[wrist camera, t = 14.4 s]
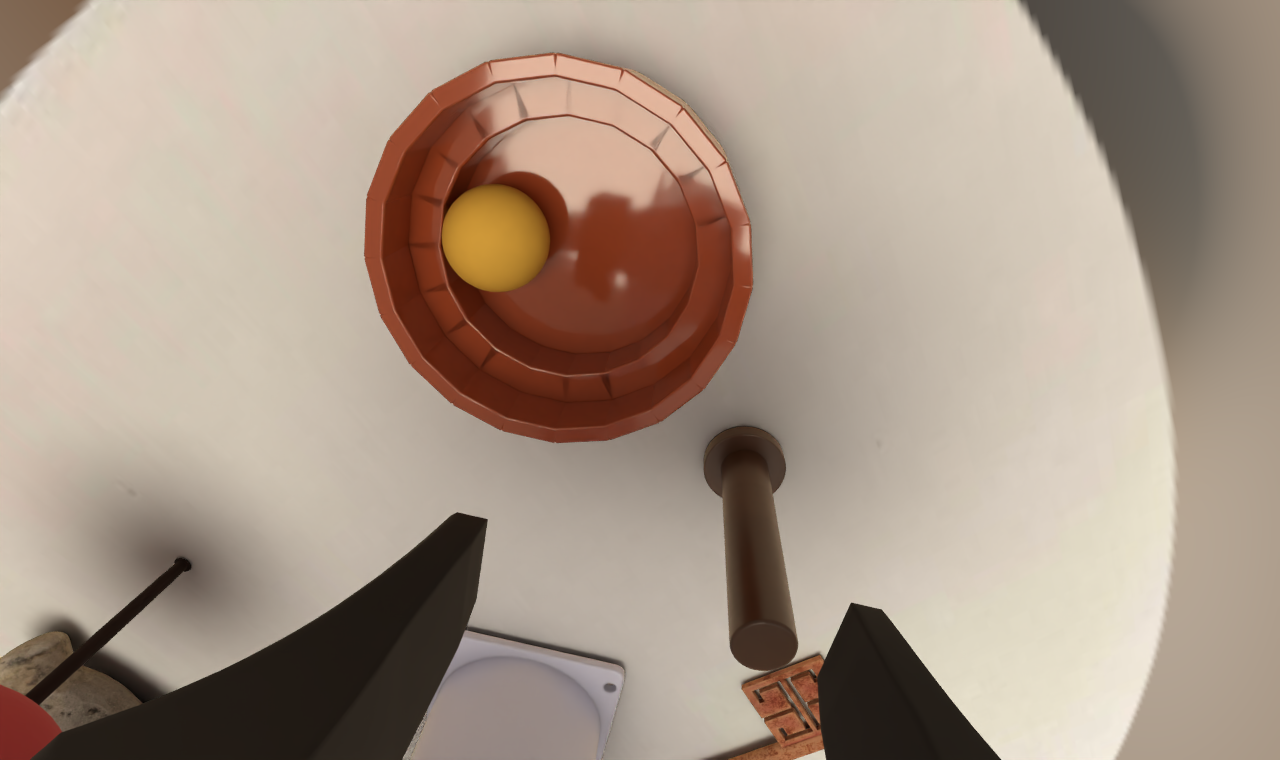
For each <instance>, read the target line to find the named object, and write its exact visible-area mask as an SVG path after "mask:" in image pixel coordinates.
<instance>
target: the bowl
mask: <svg viewBox="0 0 1280 760" xmlns="http://www.w3.org/2000/svg"><path fill="white" fill-rule="evenodd" d="M486 184H502V185H507V186H510V187H513V188H516V189H518V190H520V191H522V192H523V193H525V194H526V195H527V196H529V197H530V198H531V199H532V200H533V201H534V202H535V203H536V204H537V205H538V207H539V208H540V209H541V211H542V213H543V214H544V216H545V218H546V221H547V224H548V227H549V233H550V249H549V253H548V257H547V260H546V262H545V264H544V266H543V268H542V269H541V271H540V272H539V273H538V274H537V276H536V277H535V278H534V279H533V280H531V281H530V282H529V283H527V284H526V285H524V286H522V287H520V288H518V289H515V290H511V291H507V292H490V291H485V290H481V289H479V288H476V287H474V286H472V285H470V284H469V283H467V282H466V281H464V280H463V279H462V278H461V277H460V276H458V274H457V273H456V272H455V271H454V270H453V268H452V267H451V266H450V264H449V262H448V260H447V258H446V256H445V253H444V250H443V245H442V227H443V222H444V219H445V216H446V214H447V212H448V210H449V208H450V207H451V205H452V204H453V203H454V201H455V200H456V199H457V198H458V197H460V196H461V195H462V194H463V193H465V192H466V191H468V190H470V189H472V188H474V187H477V186H481V185H486ZM364 256H365V262H366V266H367V270H368V273H369V277H370V281H371V284H372V288H373V292H374V295H375V299H376V303H377V307H378V310H379V313H380V314H381V315H380V316H381V318H382V320H383V321H384V323H385V325H386V326H387V328H388V330H389V331H390V333H391V334H392V336H393V338H394V339H395V341H396V343H397V344H398V346H399V348H400V349H401V351H402V353H403V354H404V356H405V357H406V359H407V361H408V362H409V364H411V366H412V367H413V368H414V369H415V370H416V371H417V372H418V373H419V374H420V375H421V376H423V377H424V378H425V379H426V380H427V381H428V382H429V383H430V384H431V385H432V386H433V387H434V388H435V389H436V390H437V391H438V392H440V393H441V394H442V395H443V396H444V397H445V398H446V399H447V400H448V401H449V402H450V403H453V405H454V406H456V407H458V408H460V409H462V410H464V411H465V412H467V413H469V414H471V415H473V416H475V417H477V418H478V419H480V420H482V421H484V422H486V423H488V424H490V425H492V426H493V427H495V428H497V429H499V430H502V431H504V432H509V433H513V434H518V435H522V436H526V437H531V438H535V439H539V440H544V441H548V442H552V443H554V442H556V443H568V442H588V441H607V440H612V439H615V438H617V437H620V436H623V435H626V434H629V433H632V432H634V431H637V430H640V429H643V428H646V427H649V426H651V425H654V424H657V423H659V422H661V421H663V420H664V419H665V418H667V417H668V416H669V415H671V414H672V413H673V412H675V411H676V410H677V409H679V408H680V407H681V406H683V405H684V404H685V403H687V402H688V401H689V400H691V399H692V398H693V397H695V396H696V395H697V394H699V393H700V392H701V391H703V389H705V388H706V386H707V385H708V383H709V382H710V380H711V379H712V378H713V376H714V375H715V373H716V372H717V370H718V369H719V368H720V366H721V365H722V363H723V362H724V360H725V359H726V358H727V356H728V355H729V353H730V352H731V350H732V349H733V348H734V346H735V344H736V342H737V340H738V337H739V333H740V330H741V326H742V323H743V320H744V316H745V313H746V309H747V306H748V303H749V299H750V296H751V293H752V289H753V287H752V286H753V264H752V236H751V224H750V219H749V216H748V213H747V211H746V208H745V205H744V202H743V199H742V196H741V194H740V191H739V188H738V186H737V183H736V180H735V178H734V175H733V172H732V170H731V167H730V164H729V162H728V159H727V156H726V154H725V151H724V149H722V146H721V145H720V143H719V142H718V141H717V140H716V138H715V137H714V136H713V135H712V133H711V132H710V131H709V130H708V128H707V127H706V126H705V125H704V123H703V122H702V121H701V120H700V118H699V117H698V116H697V115H696V113H695V112H694V111H693V110H692V108H691V107H690V106H689V105H687V104H686V102H685V101H684V100H682V99H680V98H679V97H677V96H676V95H674V94H673V93H671V92H669V91H668V90H666V89H665V88H663V87H662V86H660V85H658V84H657V83H655V82H654V81H652V80H651V79H649V78H648V77H646V76H644V75H643V74H641V73H640V72H636V71H635V70H631V69H626V68H622V67H618V66H614V65H609V64H605V63H601V62H597V61H592V60H588V59H584V58H579V57H575V56H571V55H566V54H562V53H544V54H536V55H528V56H520V57H512V58H504V59H495V60H490V61H489V62H484V63H482V64H480V65H478V66H477V67H475V68H473V69H471V70H469V71H467V72H465V73H463V74H461V75H460V76H458V77H456V78H454V79H452V80H450V81H448V82H446V83H444V84H443V85H441V86H439V87H437V88H435V89H433V90H432V91H431V92H430V93H428V94H427V95H426V96H425V98H424V99H423V100H422V101H421V102H420V103H419V104H418V106H417V107H416V108H415V109H414V110H413V111H412V112H411V114H410V115H409V116H408V117H407V118H406V119H405V120H404V122H403V123H402V124H401V125H400V126H399V127H398V128H397V130H396V131H395V132H394V133H393V134H392V135H391V136H390V140H388V141H387V144H386V147H385V149H384V152H383V154H382V157H381V160H380V162H379V165H378V168H377V170H376V173H375V175H374V178H373V181H372V183H371V186H370V188H369V191H368V194H367V199H366V221H365V248H364Z"/></svg>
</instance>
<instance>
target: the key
mask: <svg viewBox="0 0 1280 760" xmlns="http://www.w3.org/2000/svg"><path fill="white" fill-rule="evenodd" d="M823 663H824V660H823V659H822V657H821V655H818V656H816V657H813V658H810V659H808V660H805V661H803V662H800V663H797V664H795V665H792V666H790V667H787V668H784V669H782V670H779V671H777V672H774V673H771V674H769V675H766V676H763V677H761V678H758V679H756V680H753V681H750V682H748V683H745V684H743V685H742V690H743V692H744V693H745V695H746V696H747V697H748V699H749V700H750V702H751V703H752V705H753V706H754V708H755V709H756V711H757V712H758V713H759V715H760V716H761V718H764V717H765V718H764V722H765V724H766V725H767V727H768V728H769V729H770V731H771V732H772V734H773V735H774V737H775V738H776V740H777V741H778V742H776V743H773V744H771V745H768V746H765V747H762V748H759V749H756V750H753V751H751V752H748V753H745V754H742V755H739V756H736V757H733V758H731V759H728V760H793V759H796V758H799V757H802V756H805V755H808V754H811V753H814V752H816V751H819V750H822V749H824V745H823V739H822V734H821V726H820V725H818V726H816V724H815V723H814V721H813V720H812V718H811V717H810V715H809V714H808V712H807V711H806V709H805V708H804V706H803V705H802V703H801V702H800V700H799V699H798V697H797V696H796V694H795V693H794V691H793V690H792V688H791V687H790V685H789V684H788V682H787V680H786V678H789V677H791V676H793V677H791V682H792V683H793V685H794V686H795V688H796V689H797V691H798V693H799V694H800V696H801V697H802V699H803V700H804V702H807V704H808V708H809V709H810V711H811V712H812V714H813V715H814V717H815V718H816V720H817V721H818V723H819V724H820V714H819V701H818V684H817V678H815V679H814V678H813V677H812V675H811V673H810V672H809V671H807V670H810V669H812V670H813V671H814V673H815V674H816V676H818V674H819V672H820V670H821V667H822V665H823ZM804 671H806V672H804ZM802 672H804V673H802ZM799 673H801V674H799ZM796 674H798V675H796ZM794 675H796V676H794ZM778 681H780V682H781V684H782V685H783V687H784V688H785V690H786V691H787V693H788V694H789V696H790V697H791V699H792V700H793V702H794V703H795V705H796V706H797V708H798V709H799V711H800V712H801V714H802V715H803V717H804V718H805V720H806V721H807V723H808V724H809V726H810V727H811V728H808V729H806V728H805V724H804V722H803V721H802V719H801V718H800V716H799V715H798V713H797V712H796V711H795V709H794V708H793V707H792V708H791V703H790V702H789V700H788V699H787V697H786V696H785V694H784V693H783V691H782V690H781V688H780V687H779V685H778V684H777V683H775V682H778ZM773 683H774V684H773ZM770 684H772V685H770ZM767 685H769V686H767ZM765 686H766V687H765ZM762 687H764V688H762ZM759 688H761V689H759ZM757 689H759V694H760V695H761V697H762V698H761V699H759V697H758V696H757V694H756V693H755V691H754V690H757ZM816 698H817V699H816ZM814 699H815V700H814ZM811 700H812V701H811ZM808 701H809V702H808ZM789 708H790V709H789ZM786 709H787V710H786ZM783 710H784V711H783ZM778 712H779V713H778ZM775 713H776V714H775ZM772 714H773V715H772ZM767 716H768V717H767ZM780 728H783V729H784V730H785V732H786V733H787V735H788V736H785V735H784V734H783V732H782V731H781V730H780ZM793 733H794V734H793Z"/></svg>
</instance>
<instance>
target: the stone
mask: <svg viewBox="0 0 1280 760" xmlns="http://www.w3.org/2000/svg"><path fill="white" fill-rule="evenodd" d="M72 653H73V650H72V646H71V642H70V638H69V637H68V636H67V634H66V633H63V632H57V631H54V632H48V633H45V634H43V635H40V636H38V637H36V638H33V639H31V640H29V641H27V642H25V643H23V644H21V645H19V646H18V647H16V648H14V649H13V650H11V651H10V652H8V653H7V654H6V655H4V656H3V657H1V658H0V685H3V686H5V687H7V688H10V689H12V690H14V691H17V692H19V693H21V694H23V695H24V696H25V695H26V694H27V693H28V692H29V691H30V690H32V689H33V688H34V687H35V686H36V685H37V684H38V683H39V682H41V681H42V680H43V679H44V678H45V677H46V676H47V675H49V674H50V673H51V672H52V671H53V670H54V669H55V668H56V667H58V666H59V665H60V664H61V663H62V662H63V661H64V660H66V659H67V658H68V657H69V656H70V655H71V654H72ZM140 704H143V703H142V702H141V701H140V700H139V699H138V698H137V697H136V696H135V695H134V694H133V693H132V692H131V691H130V690H129V689H127V688H126V687H125V686H124V685H122V684H121V683H119V682H118V681H116V680H114V679H112V678H111V677H110V676H108V675H106V674H104V673H101V672H99V671H97V670H94V669H90V668H87V667H85V666H83V665H82V666H81V667H80V668H79V669H78V670H77V671H76V672H75V673H74V674H72V675H71V676H70V677H69V678H68V679H67V680H66V681H65V682H64V683H63V684H62V685H60V686H59V687H58V688H57V689H56V690H55V691H54V692H53V693H52V694H51V695H50V696H49V697H47V698H46V699H45V700H44V701H43V702H42V703H41V704H40V705H39V706H40V707H41V708H43V709H44V710H45V711H46V712H47V713H48V714H49V715H50V716H51V717H52V718H53V720H54V721H55V722H56V723H57V725H58V726H59V727H60V729H61V731H62V732H64V731H67V730H70V729H73V728H76V727H79V726H82V725H85V724H87V723H90V722H93V721H96V720H98V719H101V718H104V717H107V716H110V715H112V714H115V713H118V712H121V711H124V710H126V709H129V708H132V707H135V706H138V705H140Z"/></svg>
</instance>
